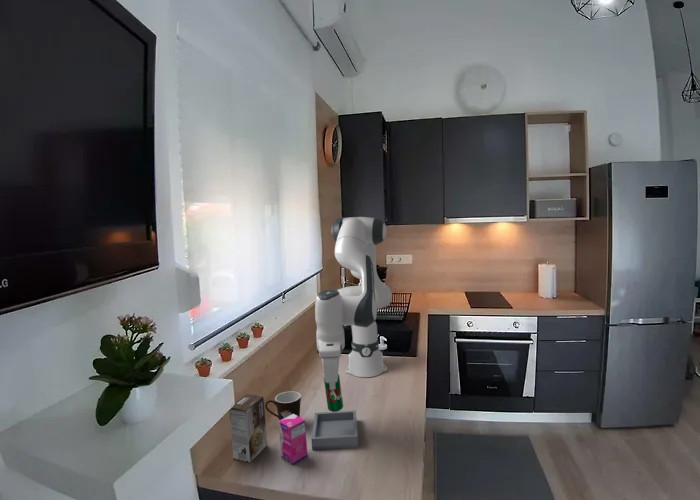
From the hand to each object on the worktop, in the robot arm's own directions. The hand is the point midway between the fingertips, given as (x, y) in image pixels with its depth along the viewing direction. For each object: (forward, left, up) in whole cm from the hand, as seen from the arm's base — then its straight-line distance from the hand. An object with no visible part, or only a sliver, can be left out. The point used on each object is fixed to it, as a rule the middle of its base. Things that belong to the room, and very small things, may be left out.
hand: (332, 384), depth 128 cm
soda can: (0, 0, -8) cm, 8 cm away
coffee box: (+8, -26, -17) cm, 32 cm away
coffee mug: (-8, -17, -17) cm, 25 cm away
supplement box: (+11, -12, -17) cm, 24 cm away
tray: (0, 0, -17) cm, 17 cm away
